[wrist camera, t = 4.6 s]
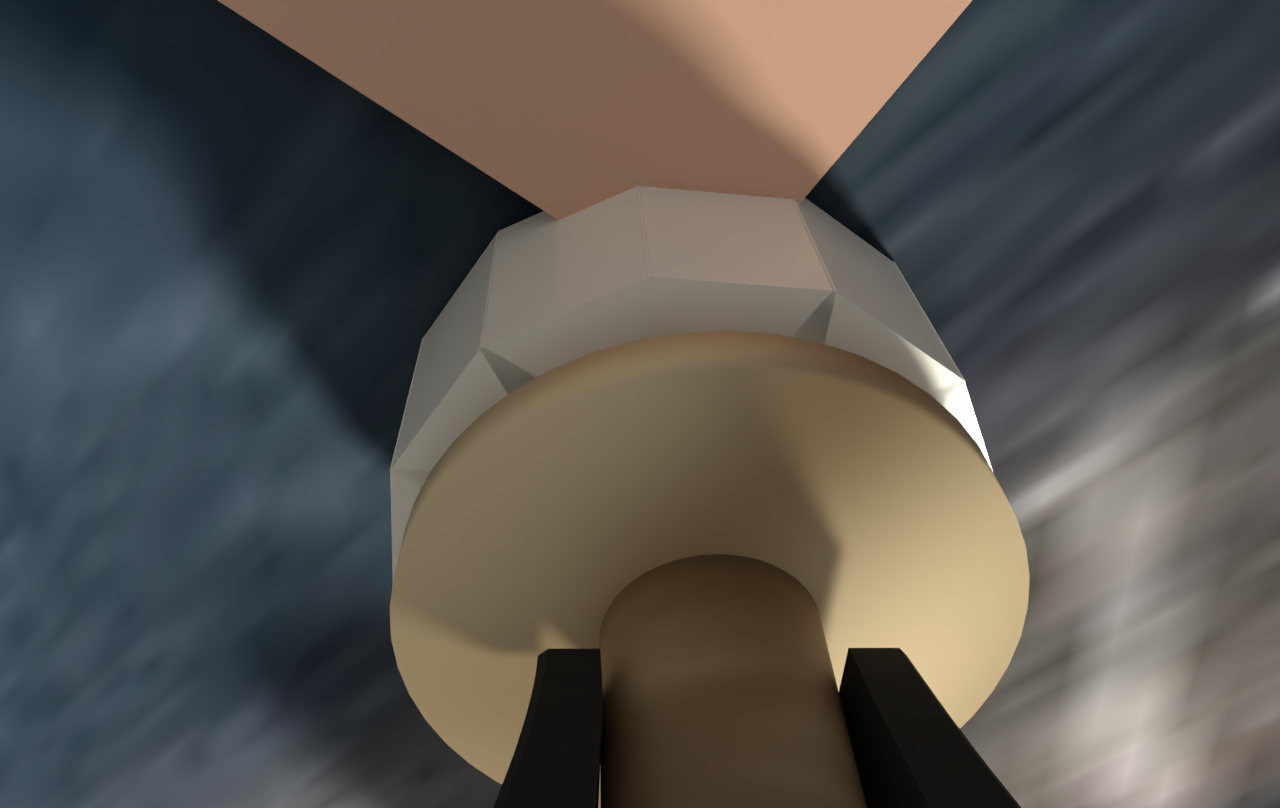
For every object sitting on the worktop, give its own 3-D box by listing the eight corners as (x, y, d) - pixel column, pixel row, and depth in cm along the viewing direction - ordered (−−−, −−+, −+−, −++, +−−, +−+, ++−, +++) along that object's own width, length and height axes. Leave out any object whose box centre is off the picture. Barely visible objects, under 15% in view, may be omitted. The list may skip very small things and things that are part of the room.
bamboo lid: (1107, 375, 12) (1325, 662, 9) (903, 800, 17) (990, 1110, 13) (413, 288, 11) (326, 568, 8) (389, 762, 16) (327, 1086, 12)
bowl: (1028, 358, 18) (1119, 487, 15) (714, 658, 21) (737, 810, 18) (617, 60, 14) (628, 146, 12) (330, 467, 18) (283, 612, 15)
